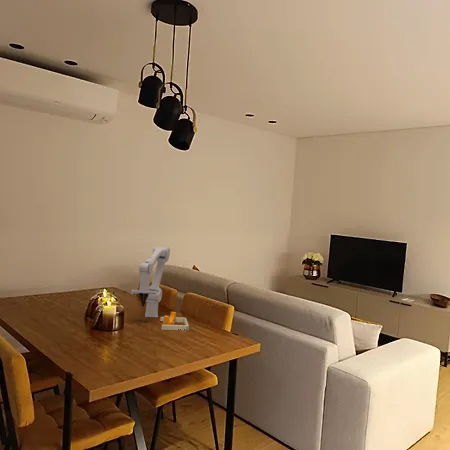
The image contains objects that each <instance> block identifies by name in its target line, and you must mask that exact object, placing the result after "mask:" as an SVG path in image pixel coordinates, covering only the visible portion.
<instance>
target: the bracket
mask: <svg viewBox="0 0 450 450" xmlns="http://www.w3.org/2000/svg"><path fill="white" fill-rule="evenodd" d="M169 318H170V316H169ZM163 320H164V316H160V321H163ZM160 321H159V322H160ZM175 323H183V324H185V325H181V324H180V325H179V324H174V325H163V324H161V330H162V331H190V326H189V323H188V319H187V317H177V316H176V320H175ZM178 329H179V330H178ZM180 329H181V330H180ZM184 329H185V330H184ZM186 329H187V330H186Z"/></svg>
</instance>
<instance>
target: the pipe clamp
mask: <svg viewBox="0 0 450 450" xmlns="http://www.w3.org/2000/svg"><path fill="white" fill-rule="evenodd" d="M163 317H164V320H163V322H162V325H175V324H176V322H175V320H176V317H177V312H176V311H170V315H164V316H163ZM169 317H170V318H169Z"/></svg>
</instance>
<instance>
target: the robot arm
mask: <svg viewBox="0 0 450 450" xmlns="http://www.w3.org/2000/svg"><path fill="white" fill-rule="evenodd" d="M170 255H171V250H170V248H169V246H168V247H167V246H157V245H155V246H153V248H152V254H151V255H150V256H148V257H147V259H145V261H144V262H142V263H140V264H139V267H138V271H139V276H140V277H139V289H131V292H130V293H131V294H132V295H133V294H138V296H139V299H140V302H141V307H145V306H146V307H145V312H144V318H159V315H158V314H159V313H158V311H159V303H160V301H161V300H162V297H163V290H162V288H160V284H161V281H162V277H163V272H164V270H165V269H164V268H165V264H166V262H168V261H169V258H170ZM155 264H156V267H155V270H154V274H153V276H152V277H153V278H152V281H151V273H152V272H153V268H154V266H155ZM150 281H151V282H150ZM150 283H151V284H150Z"/></svg>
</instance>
